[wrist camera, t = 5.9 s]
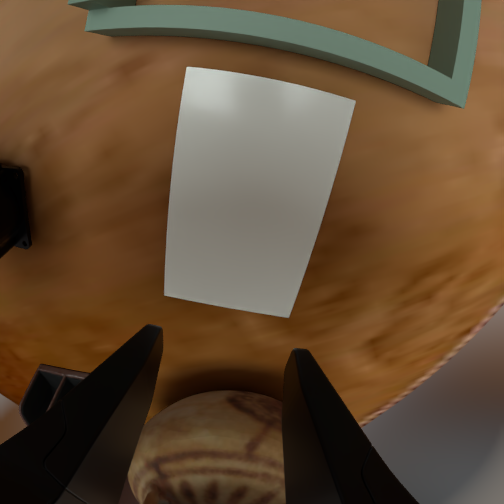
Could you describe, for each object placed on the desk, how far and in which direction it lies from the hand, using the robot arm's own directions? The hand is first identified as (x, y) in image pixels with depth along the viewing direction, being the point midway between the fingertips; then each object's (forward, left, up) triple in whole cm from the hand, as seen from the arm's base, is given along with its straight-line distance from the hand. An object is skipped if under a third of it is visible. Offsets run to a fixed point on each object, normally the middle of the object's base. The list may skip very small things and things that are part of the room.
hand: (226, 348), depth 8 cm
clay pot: (-23, -3, -12) cm, 26 cm away
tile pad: (0, 0, -12) cm, 12 cm away
